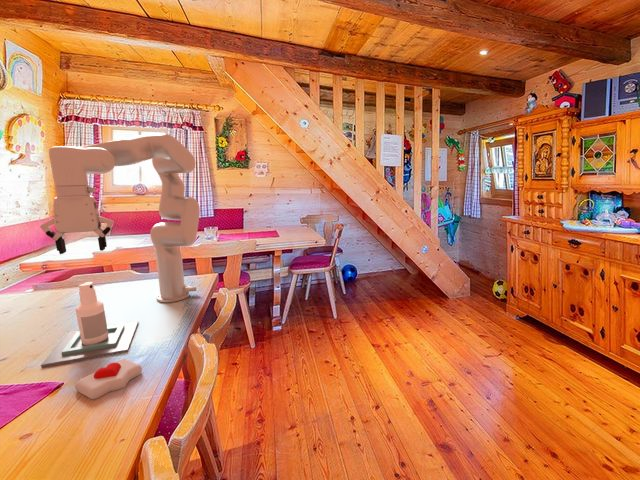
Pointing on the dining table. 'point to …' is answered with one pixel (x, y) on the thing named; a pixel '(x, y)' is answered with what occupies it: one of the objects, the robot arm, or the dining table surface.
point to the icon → (108, 378)
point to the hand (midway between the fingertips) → (83, 251)
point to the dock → (76, 351)
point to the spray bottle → (91, 316)
